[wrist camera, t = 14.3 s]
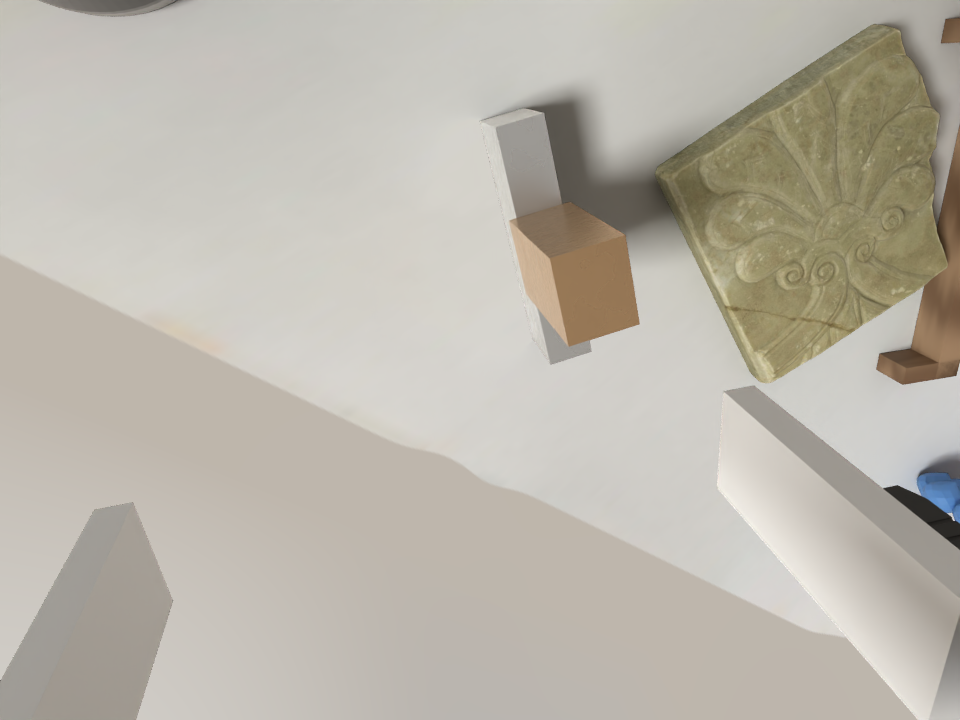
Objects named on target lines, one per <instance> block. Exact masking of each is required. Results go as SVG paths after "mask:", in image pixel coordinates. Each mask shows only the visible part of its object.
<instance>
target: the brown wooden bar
mask: <svg viewBox="0 0 960 720" xmlns="http://www.w3.org/2000/svg"><path fill="white" fill-rule="evenodd" d="M958 42H960V18H955V19H946V20H945V25H944V30H943V35H942V40H941V43H958ZM937 234H938V237H939V240H940V243H941V244H942V247H943V250H944V252H945V256H946V260H947V263H948V266H947V268H946V269H945V270H943V271H942V272H940V273H939V274H938V275H936V276H935V277H934V278H932V279H931V280H930V281H929V282H928V283H927V284H926V285H925V286H924V291H923V295H922V300H921V304H920V309H919V314H918V318H917V323H916V327H915V332H914V336H913V341H912V346H911V349H907V350H901V351H894V352H888V353H882V354H879V359H878V364H877V369H876V370H878V371H880V372H881V373H883V374H885V375H887V376H888V377H890V378H892V379H894V380H895V381H897V382H899V383H901V384H903V385H904V384H910V383H916V382H922V381H928V380H934V379H940V378H946V377H952V376H956V375H957V371H958V367H959V363H960V126H959V131H958V135H957V140H956V144H955V149H954V153H953V158H952V163H951V167H950V172H949V176H948V181H947V185H946V190H945V195H944V199H943V204H942V208H941V213H940V217H939V222H938V227H937Z"/></svg>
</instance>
